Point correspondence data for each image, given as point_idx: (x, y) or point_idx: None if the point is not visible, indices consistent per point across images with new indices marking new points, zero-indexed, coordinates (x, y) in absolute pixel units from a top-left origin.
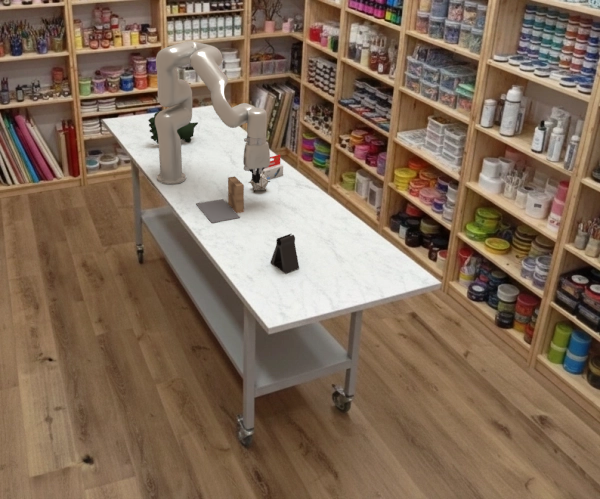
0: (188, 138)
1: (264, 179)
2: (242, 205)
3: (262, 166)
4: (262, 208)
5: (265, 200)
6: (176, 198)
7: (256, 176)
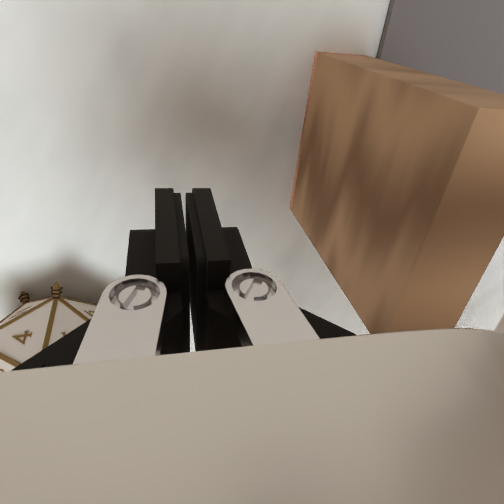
0: None
1: (8, 356)
2: (348, 61)
3: (83, 388)
4: (145, 35)
5: (68, 165)
6: (475, 324)
7: (217, 241)
